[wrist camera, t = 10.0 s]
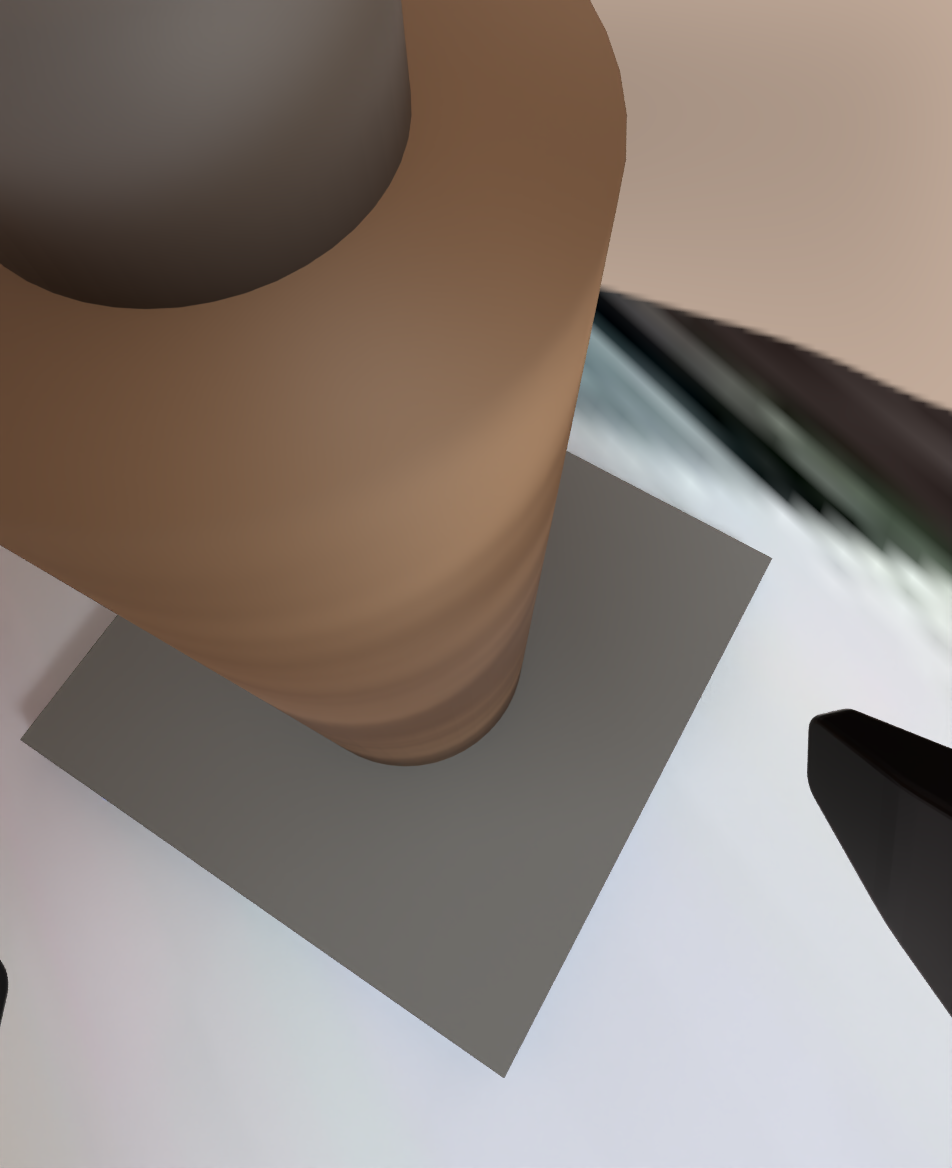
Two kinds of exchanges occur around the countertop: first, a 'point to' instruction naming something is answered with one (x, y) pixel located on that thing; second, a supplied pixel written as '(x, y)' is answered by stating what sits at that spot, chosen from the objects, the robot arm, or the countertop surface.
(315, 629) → the pepper mill
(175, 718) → the trivet mat
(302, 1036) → the countertop surface
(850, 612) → the countertop surface
